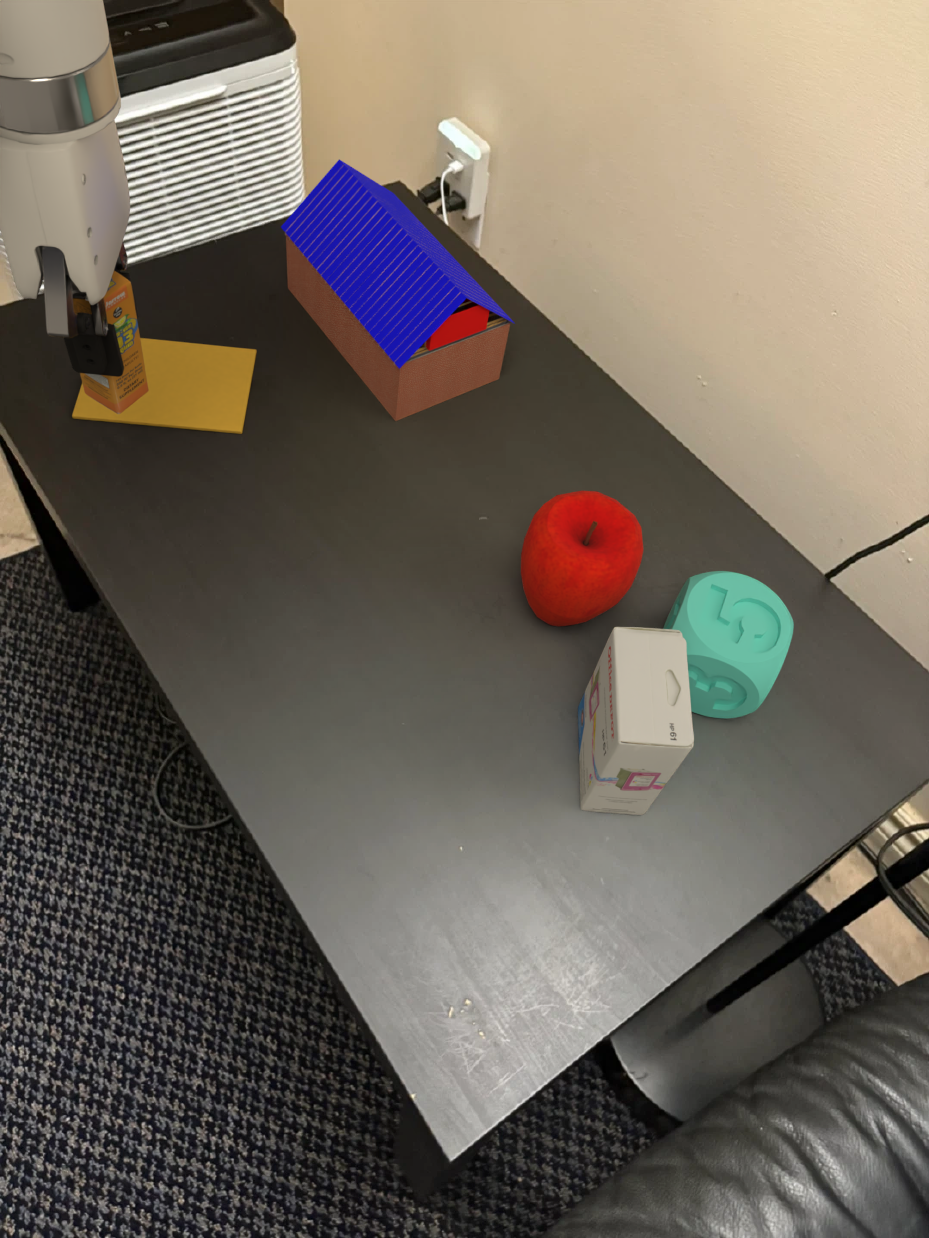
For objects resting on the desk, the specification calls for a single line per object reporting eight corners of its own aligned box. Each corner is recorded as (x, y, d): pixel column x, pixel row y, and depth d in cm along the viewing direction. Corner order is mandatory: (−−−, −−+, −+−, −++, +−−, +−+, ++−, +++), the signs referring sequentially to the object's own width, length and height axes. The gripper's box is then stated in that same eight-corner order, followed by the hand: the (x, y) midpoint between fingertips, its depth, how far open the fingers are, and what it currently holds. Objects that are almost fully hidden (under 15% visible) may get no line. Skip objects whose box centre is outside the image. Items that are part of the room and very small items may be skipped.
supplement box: (121, 419, 68) (92, 305, 60) (84, 395, 69) (50, 280, 60) (154, 392, 70) (131, 278, 61) (118, 370, 70) (90, 253, 62)
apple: (567, 674, 74) (601, 597, 65) (483, 604, 76) (505, 520, 67) (636, 608, 78) (677, 526, 69) (554, 543, 81) (583, 456, 71)
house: (389, 252, 97) (396, 143, 88) (503, 380, 90) (526, 276, 80) (283, 287, 93) (278, 176, 83) (394, 425, 85) (403, 321, 75)
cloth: (72, 418, 81) (71, 416, 81) (97, 336, 87) (97, 333, 86) (242, 434, 83) (241, 431, 82) (256, 352, 88) (256, 349, 88)
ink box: (573, 703, 73) (612, 621, 63) (638, 709, 73) (688, 628, 63) (576, 812, 68) (619, 741, 58) (646, 817, 69) (700, 748, 59)
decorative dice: (667, 612, 78) (700, 554, 72) (761, 650, 77) (803, 596, 71) (639, 691, 74) (670, 637, 67) (738, 733, 73) (780, 683, 66)
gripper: (7, -17, 54) (77, 259, 69) (-88, 163, 45) (17, 433, 61) (145, 2, 55) (184, 270, 70) (78, 182, 46) (140, 444, 61)
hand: (106, 343), depth 65 cm, fingers closed on supplement box, 4 cm apart
